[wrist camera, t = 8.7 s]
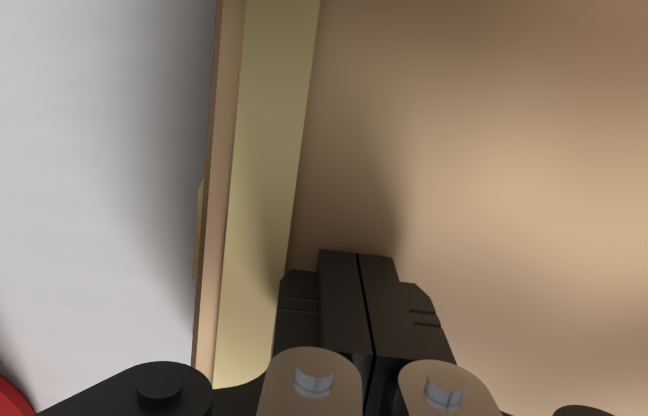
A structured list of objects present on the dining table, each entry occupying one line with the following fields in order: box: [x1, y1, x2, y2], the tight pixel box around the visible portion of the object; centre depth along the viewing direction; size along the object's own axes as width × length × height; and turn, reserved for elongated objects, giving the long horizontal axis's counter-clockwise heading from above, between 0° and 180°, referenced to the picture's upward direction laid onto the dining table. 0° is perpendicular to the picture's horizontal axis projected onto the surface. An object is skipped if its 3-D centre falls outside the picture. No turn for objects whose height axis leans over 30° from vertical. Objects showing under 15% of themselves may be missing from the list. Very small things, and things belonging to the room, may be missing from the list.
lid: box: [195, 0, 648, 416], centre depth 12 cm, size 17×12×1 cm
